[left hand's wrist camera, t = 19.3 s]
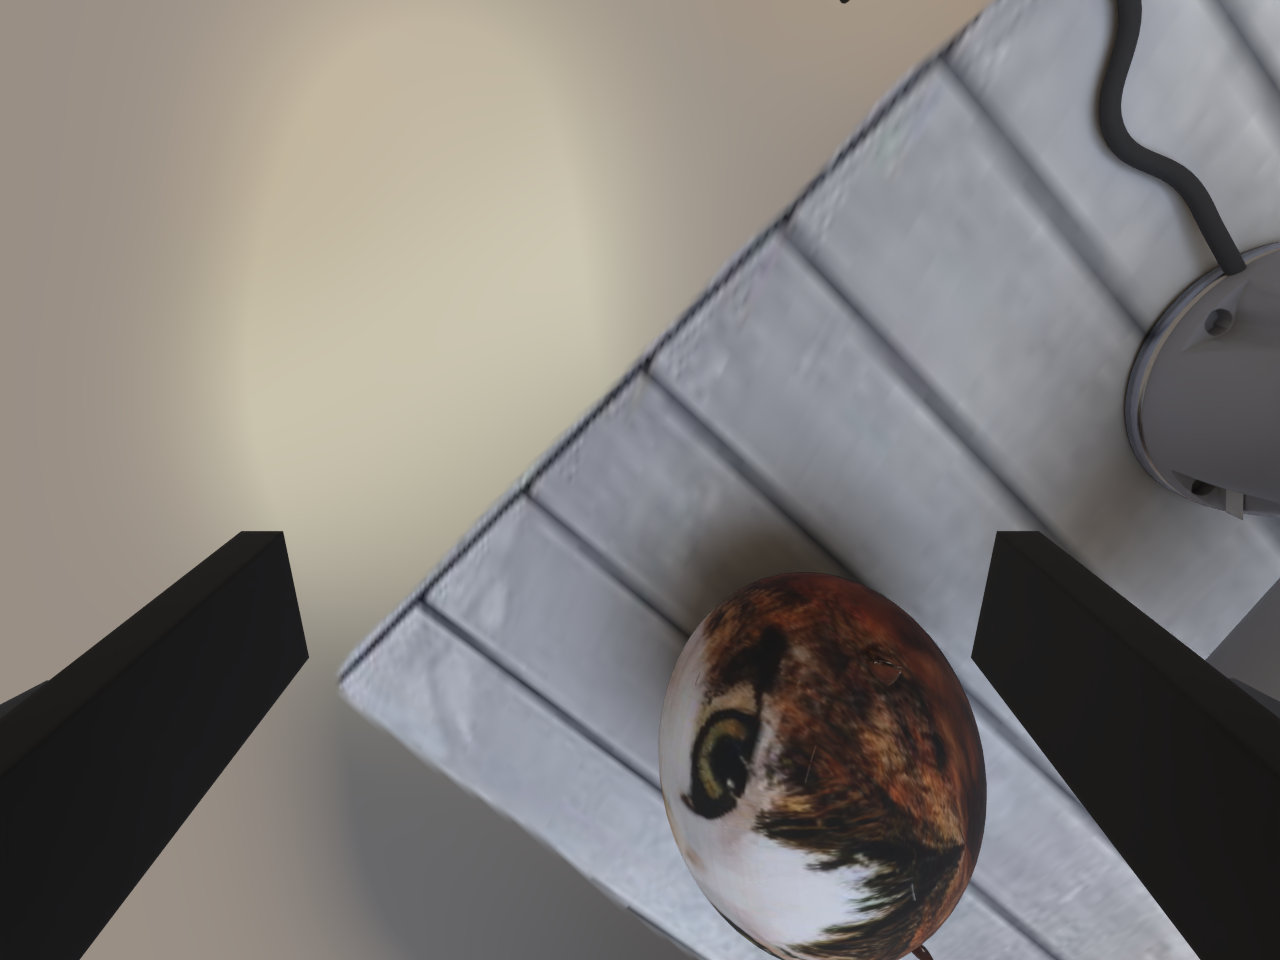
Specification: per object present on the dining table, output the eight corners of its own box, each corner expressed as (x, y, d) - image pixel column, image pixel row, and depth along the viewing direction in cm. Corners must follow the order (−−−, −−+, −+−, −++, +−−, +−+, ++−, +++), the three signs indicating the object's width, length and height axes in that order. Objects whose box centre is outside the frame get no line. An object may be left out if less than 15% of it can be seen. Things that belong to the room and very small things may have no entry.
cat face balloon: (528, 611, 39) (816, 771, 23) (739, 493, 48) (1042, 550, 33) (617, 896, 46) (883, 1163, 30) (785, 743, 55) (1052, 887, 40)
